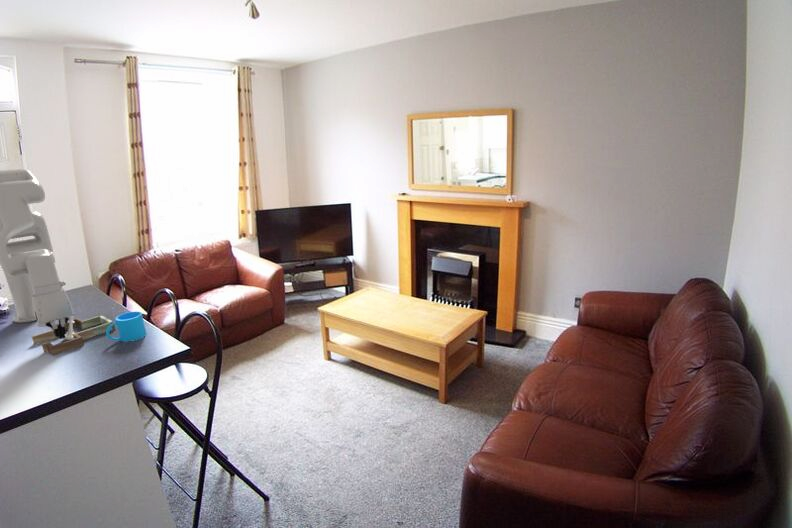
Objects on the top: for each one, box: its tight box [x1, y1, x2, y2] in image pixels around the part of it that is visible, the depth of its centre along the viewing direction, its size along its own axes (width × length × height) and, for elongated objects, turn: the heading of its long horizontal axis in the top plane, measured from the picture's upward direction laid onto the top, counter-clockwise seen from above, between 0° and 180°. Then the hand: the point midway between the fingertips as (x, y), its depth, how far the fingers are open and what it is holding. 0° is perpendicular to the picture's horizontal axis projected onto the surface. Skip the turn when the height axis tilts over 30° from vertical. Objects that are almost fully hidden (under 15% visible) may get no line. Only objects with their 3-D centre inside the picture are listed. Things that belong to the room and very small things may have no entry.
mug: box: [105, 311, 147, 342], centre depth 156 cm, size 12×8×8 cm
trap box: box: [31, 314, 116, 356], centre depth 160 cm, size 22×22×3 cm
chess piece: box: [62, 311, 76, 340], centre depth 158 cm, size 5×5×10 cm
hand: (61, 337), depth 156 cm, fingers closed
